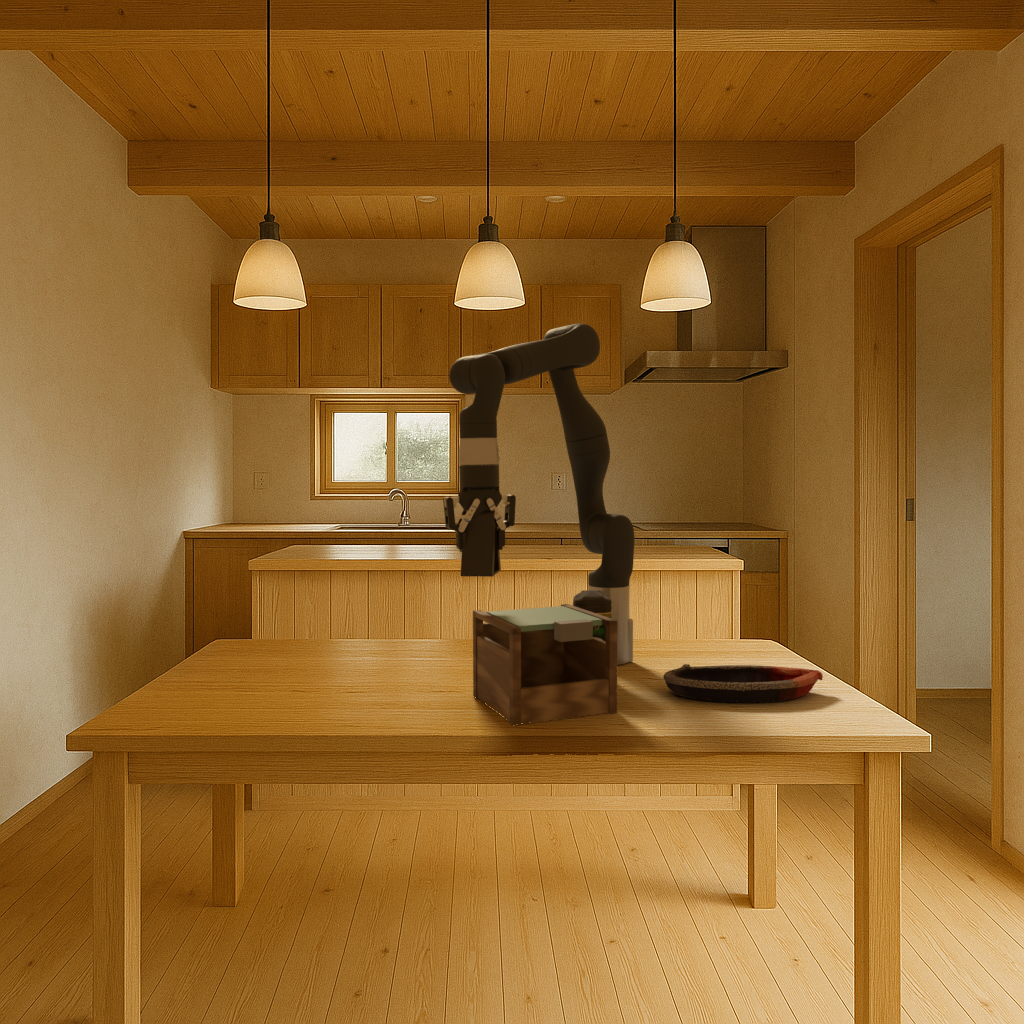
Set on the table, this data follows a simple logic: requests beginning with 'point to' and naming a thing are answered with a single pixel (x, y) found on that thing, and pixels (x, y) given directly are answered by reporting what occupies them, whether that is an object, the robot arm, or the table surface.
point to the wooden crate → (543, 671)
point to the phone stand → (481, 546)
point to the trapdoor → (552, 621)
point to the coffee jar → (595, 608)
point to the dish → (741, 683)
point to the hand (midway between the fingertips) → (480, 550)
